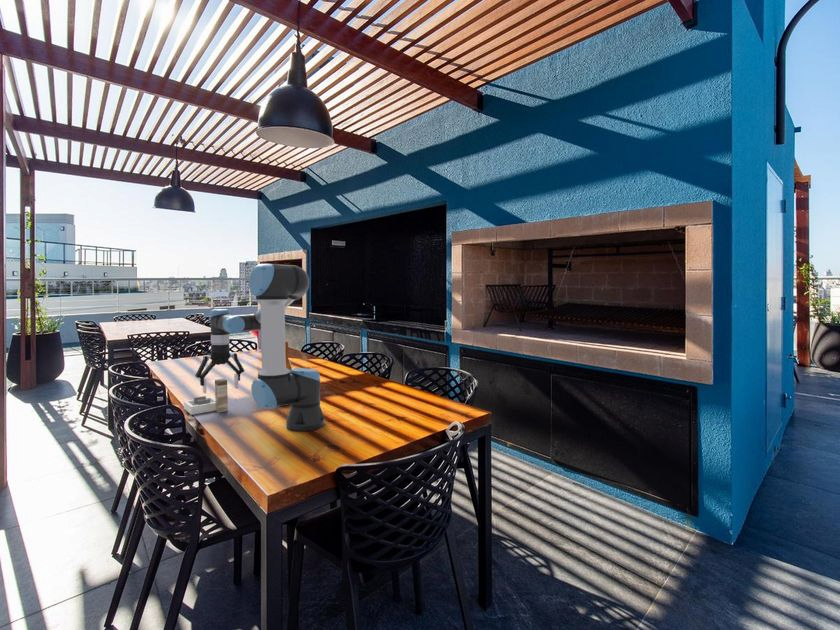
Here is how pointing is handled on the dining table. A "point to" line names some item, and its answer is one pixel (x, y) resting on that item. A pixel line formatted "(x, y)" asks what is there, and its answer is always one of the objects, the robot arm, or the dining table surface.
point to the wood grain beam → (221, 395)
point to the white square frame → (200, 405)
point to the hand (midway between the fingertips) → (220, 390)
